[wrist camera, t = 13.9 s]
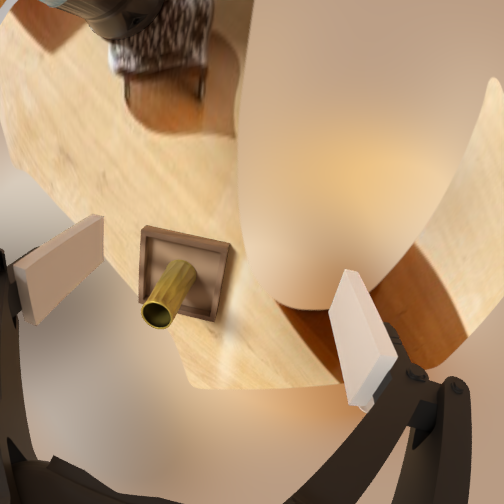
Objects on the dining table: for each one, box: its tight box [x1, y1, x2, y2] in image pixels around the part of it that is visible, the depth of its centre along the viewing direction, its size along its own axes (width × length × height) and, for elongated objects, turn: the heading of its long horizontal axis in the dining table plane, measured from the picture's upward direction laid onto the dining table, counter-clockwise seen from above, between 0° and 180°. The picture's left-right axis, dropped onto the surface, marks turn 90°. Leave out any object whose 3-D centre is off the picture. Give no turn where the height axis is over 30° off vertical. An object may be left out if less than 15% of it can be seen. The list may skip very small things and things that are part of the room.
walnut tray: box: [139, 225, 230, 322], centre depth 57 cm, size 16×16×2 cm
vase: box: [141, 260, 196, 329], centre depth 51 cm, size 6×6×14 cm
